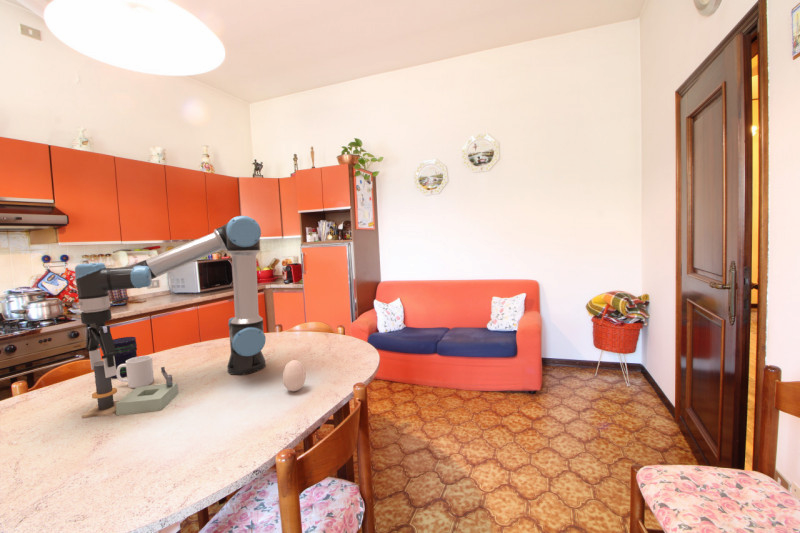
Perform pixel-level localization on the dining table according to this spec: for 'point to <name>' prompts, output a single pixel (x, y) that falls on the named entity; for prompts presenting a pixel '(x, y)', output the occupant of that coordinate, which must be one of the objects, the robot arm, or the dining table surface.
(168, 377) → the clip
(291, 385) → the egg
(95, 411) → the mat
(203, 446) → the dining table surface
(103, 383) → the plug
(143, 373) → the cup
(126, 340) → the storage jar
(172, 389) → the socket block
